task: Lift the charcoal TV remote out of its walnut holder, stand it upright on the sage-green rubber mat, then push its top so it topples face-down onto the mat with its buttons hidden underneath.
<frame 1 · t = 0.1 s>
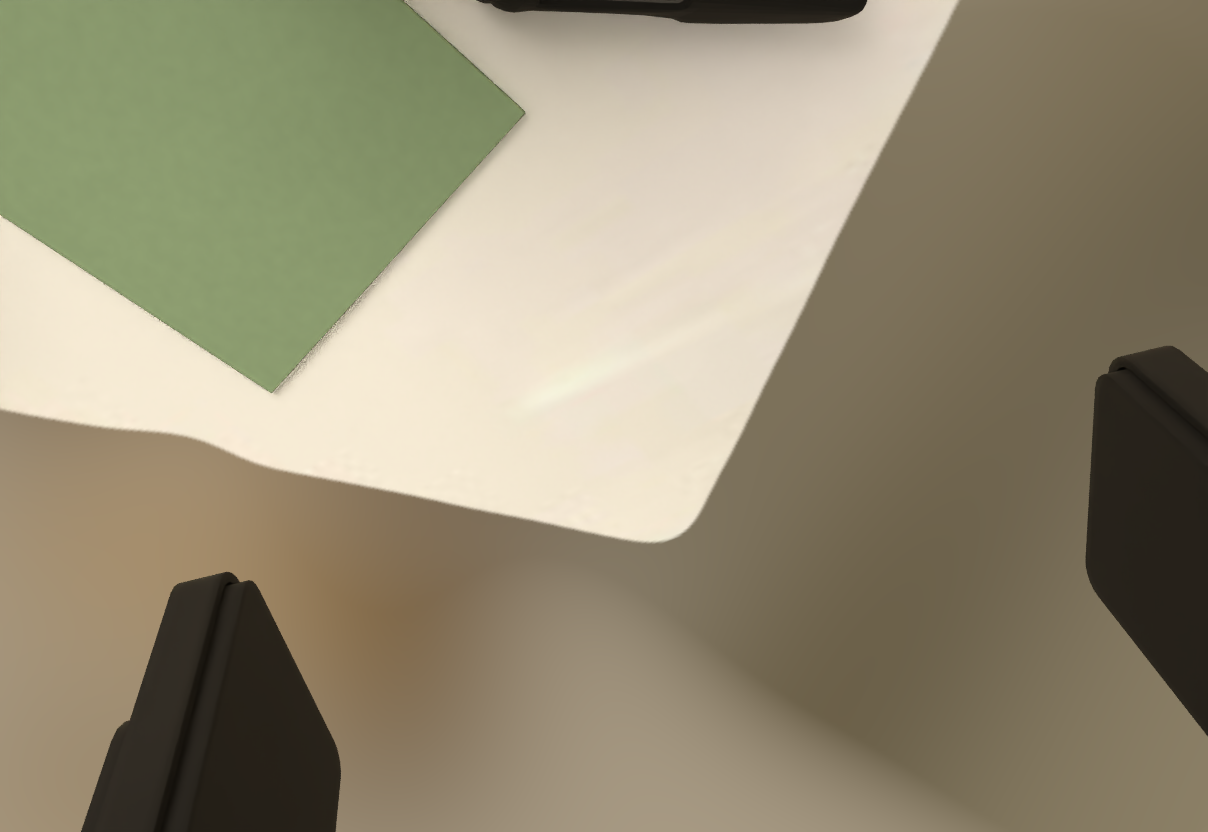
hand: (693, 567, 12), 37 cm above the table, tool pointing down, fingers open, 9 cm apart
mat: (198, 109, 44), on the table
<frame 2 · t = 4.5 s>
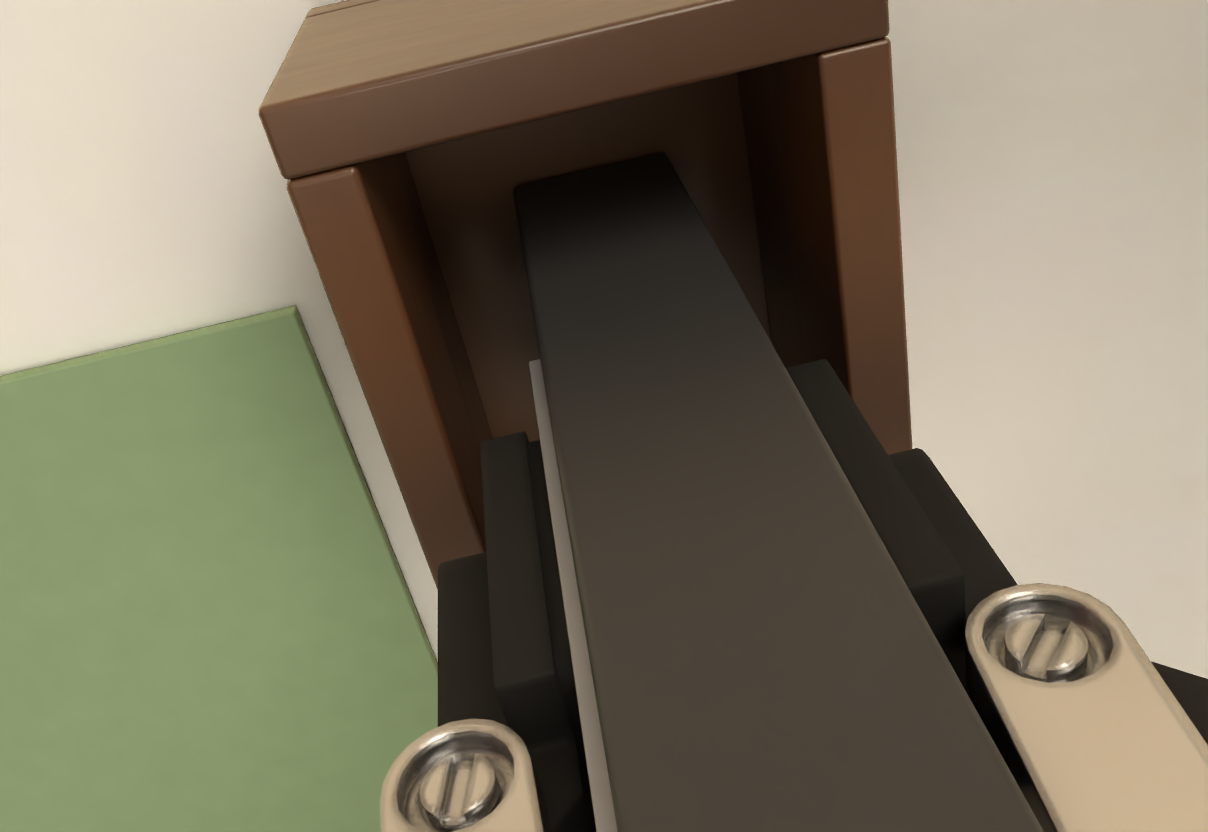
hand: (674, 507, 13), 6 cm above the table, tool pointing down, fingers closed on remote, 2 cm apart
mat: (45, 819, 23), on the table
holder: (607, 287, 18), on the table
remote: (706, 580, 12), point 8 cm above the table, touching gripper, holder
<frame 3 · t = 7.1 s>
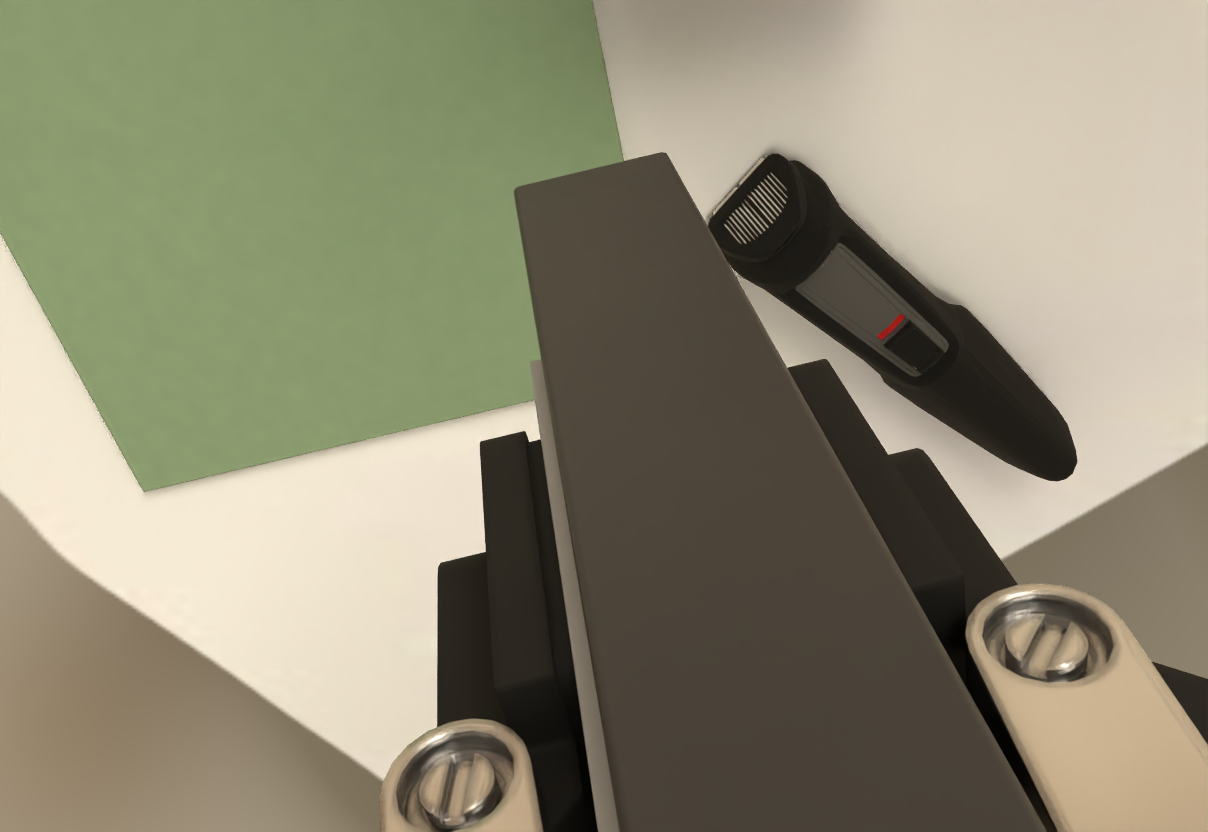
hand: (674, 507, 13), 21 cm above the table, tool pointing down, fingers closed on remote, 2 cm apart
mat: (300, 143, 31), on the table
remote: (708, 581, 12), point 22 cm above the table, touching gripper
electric trimmer: (893, 308, 36), on the table
when the fingers open (6 cm above the table, at t = 9.6 s): remote stays where it is, resting on mat.
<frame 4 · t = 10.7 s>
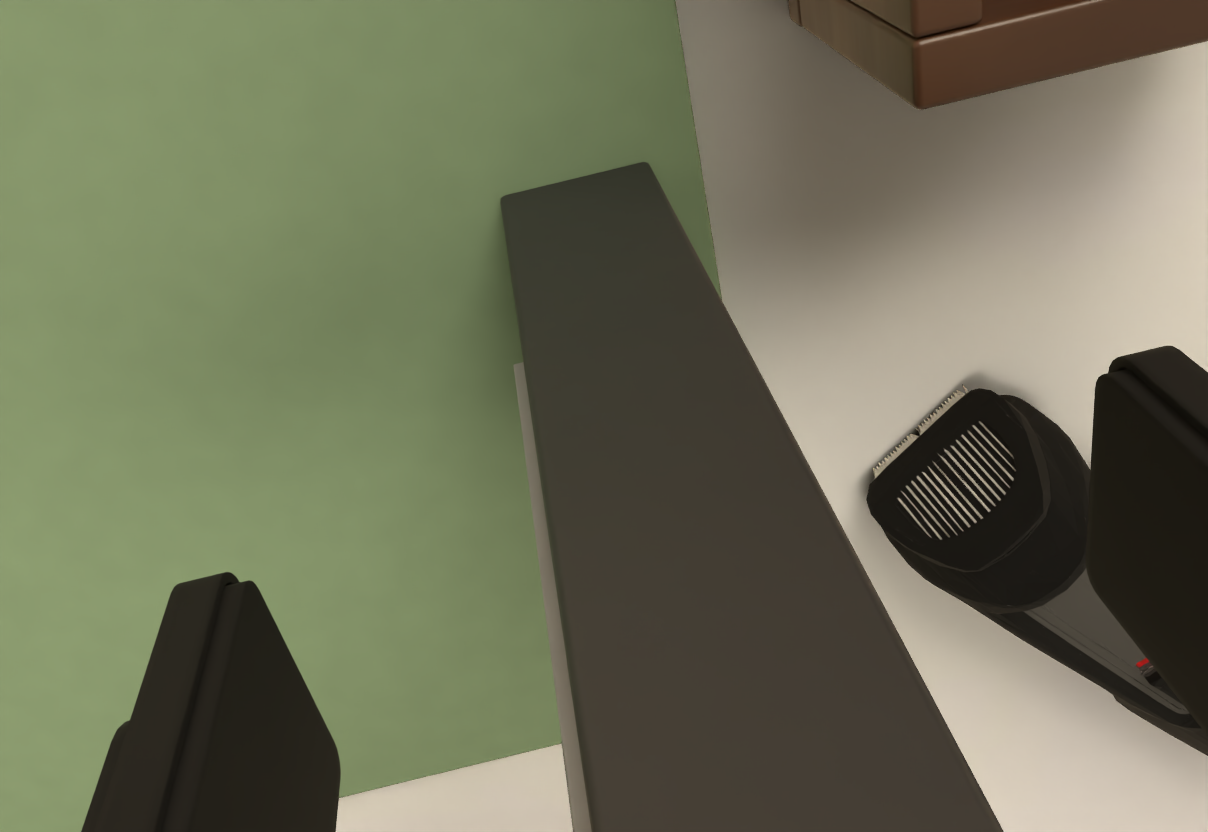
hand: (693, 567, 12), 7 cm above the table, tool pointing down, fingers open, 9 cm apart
mat: (194, 393, 18), on the table
remote: (684, 574, 12), point 7 cm above the table, touching mat
electric trimmer: (1129, 587, 24), on the table
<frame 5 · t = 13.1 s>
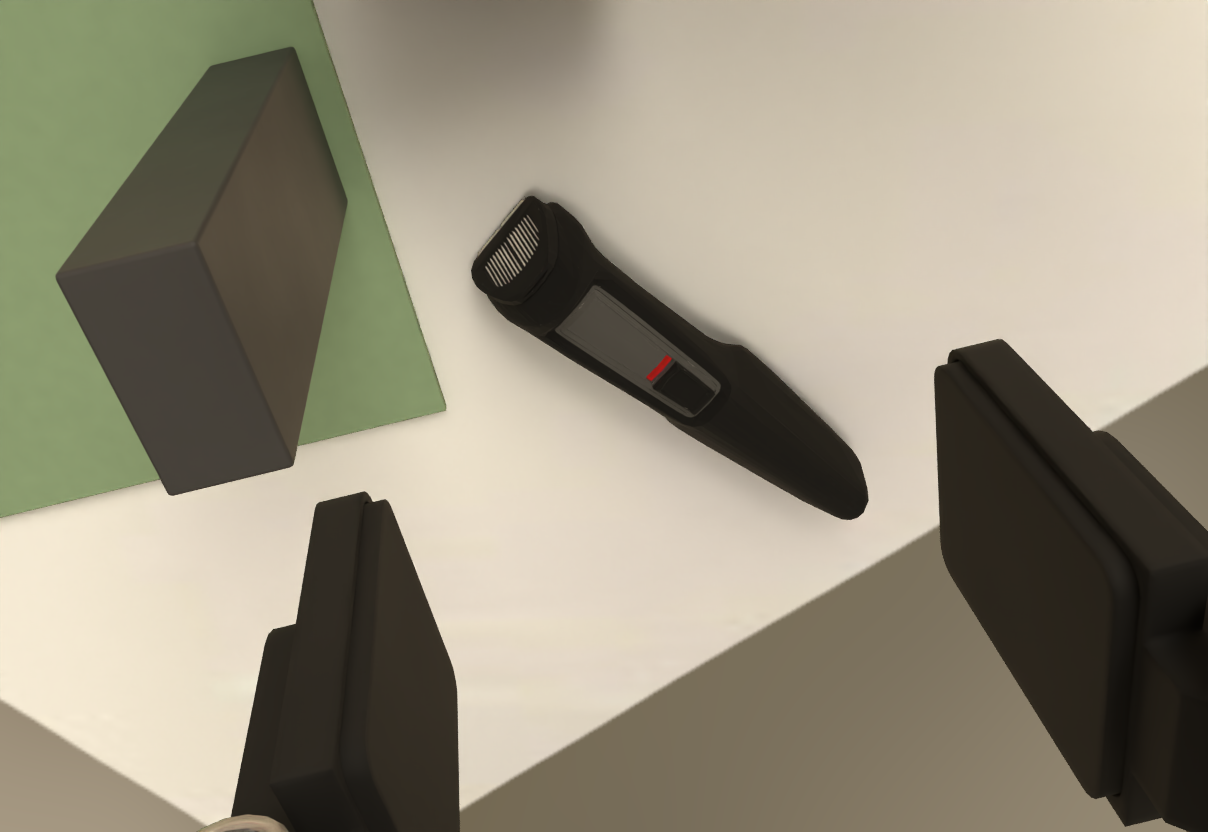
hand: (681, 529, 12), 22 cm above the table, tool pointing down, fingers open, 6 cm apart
mat: (41, 188, 31), on the table
remote: (243, 228, 25), point 7 cm above the table, touching mat
electric trimmer: (678, 347, 36), on the table
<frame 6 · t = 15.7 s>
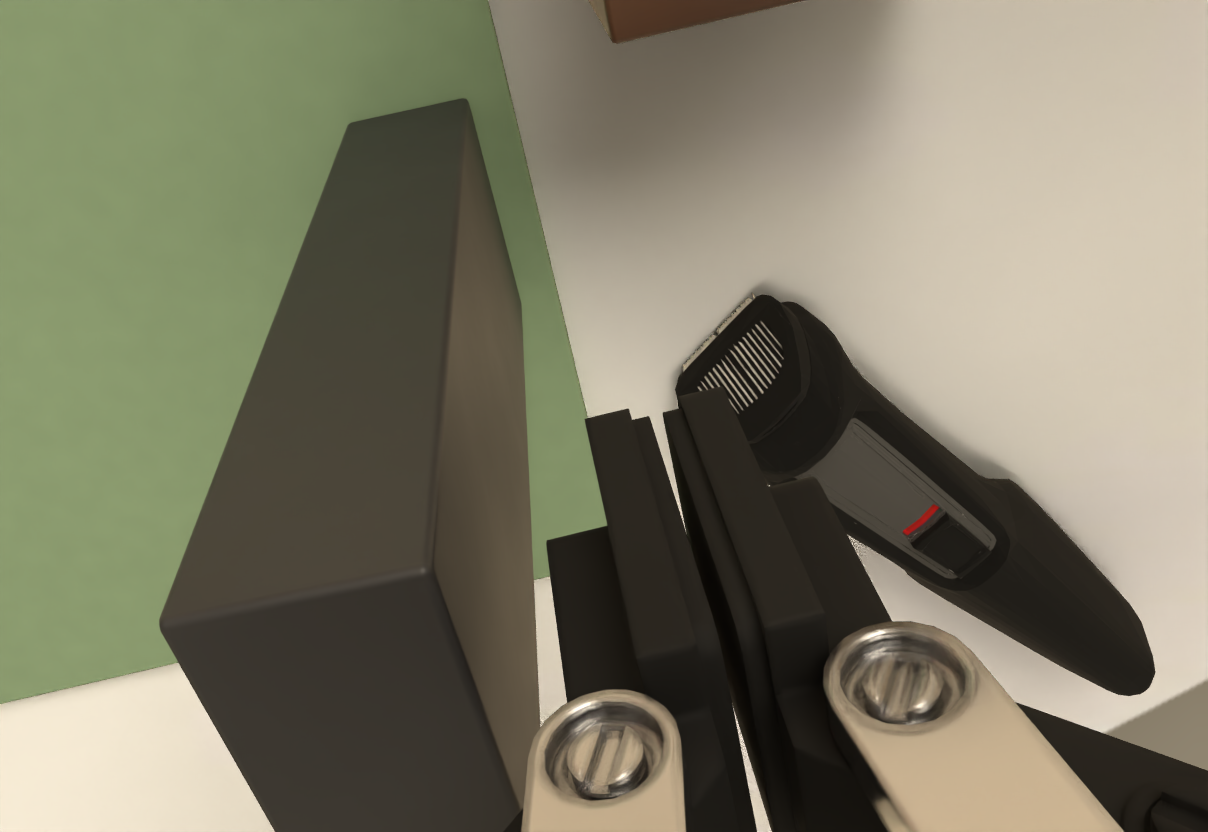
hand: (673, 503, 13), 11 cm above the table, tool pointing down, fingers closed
mat: (107, 285, 22), on the table
remote: (418, 395, 16), point 7 cm above the table, touching gripper, mat
electric trimmer: (920, 478, 28), on the table
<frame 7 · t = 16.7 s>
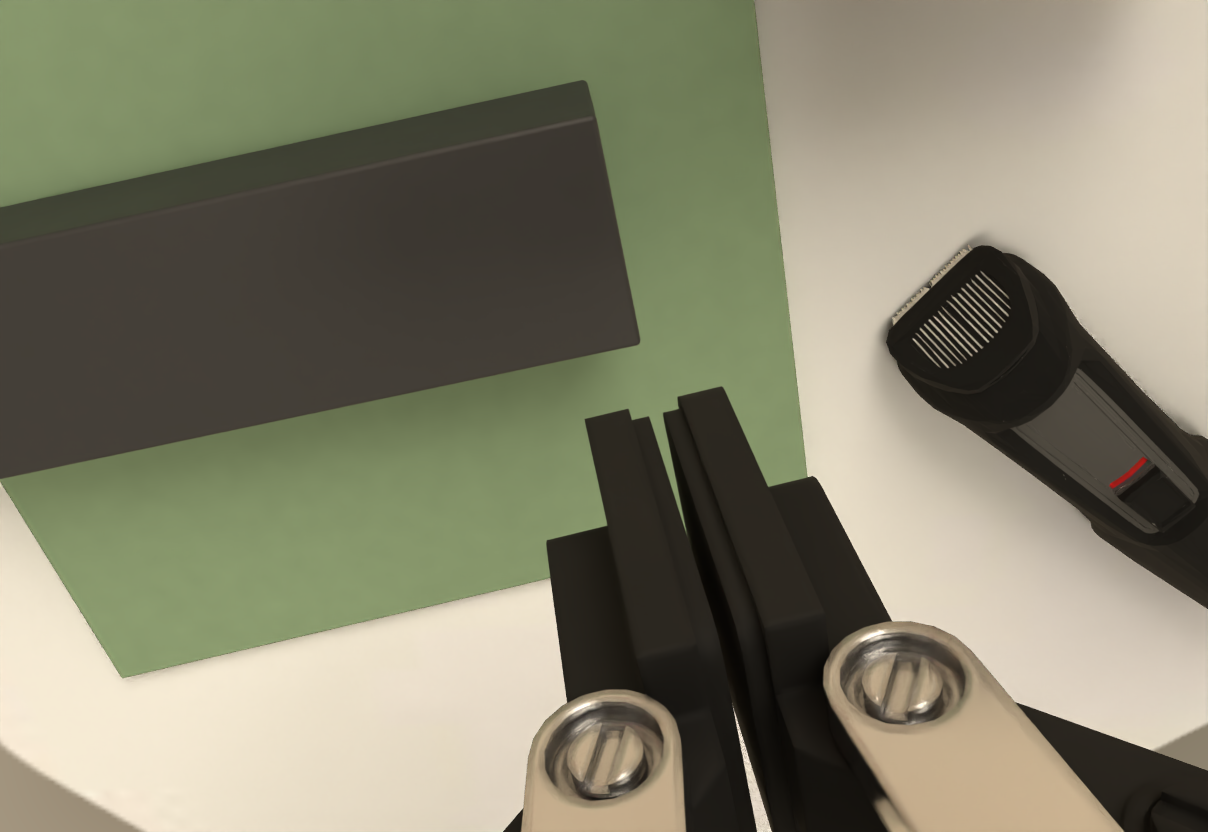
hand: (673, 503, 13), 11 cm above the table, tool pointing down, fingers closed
mat: (342, 234, 22), on the table
remote: (260, 289, 21), point 2 cm above the table, tilted 93°, touching mat
electric trimmer: (1107, 435, 28), on the table
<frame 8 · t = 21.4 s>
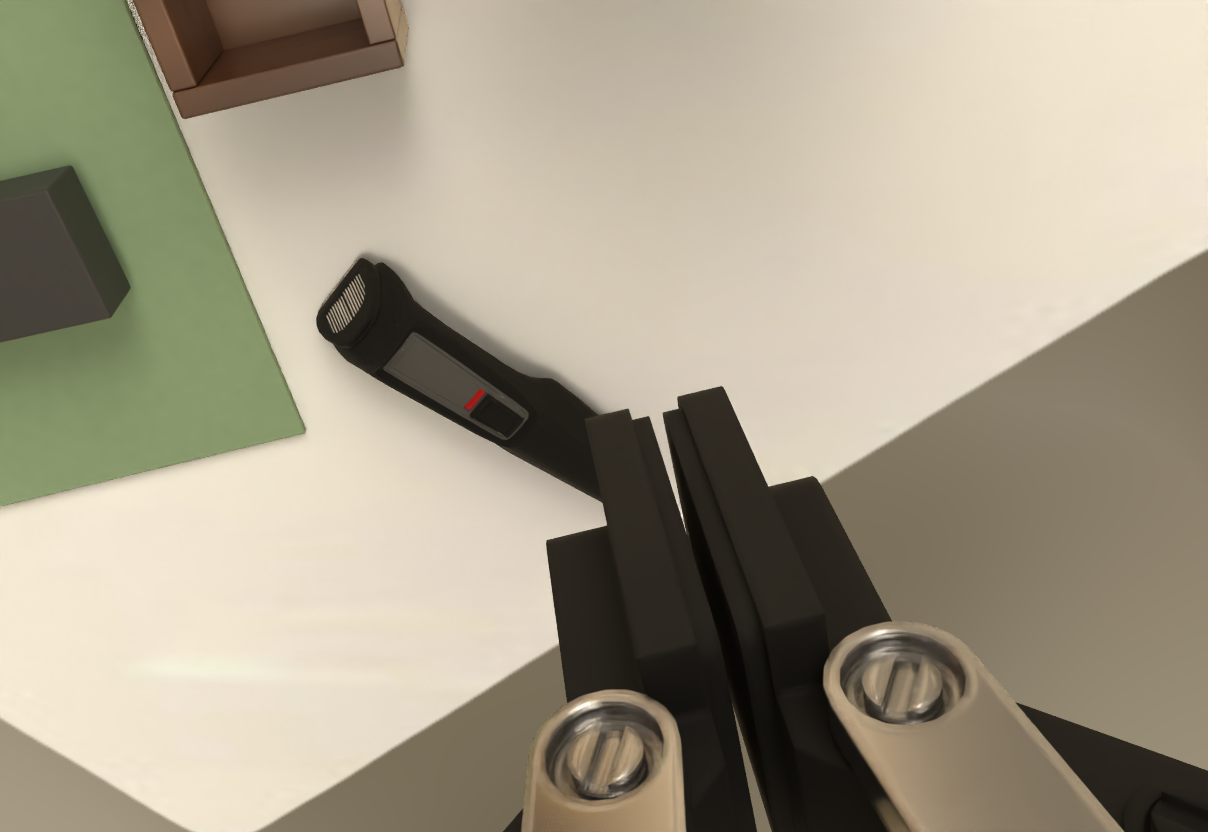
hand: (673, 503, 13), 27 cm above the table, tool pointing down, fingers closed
electric trimmer: (502, 379, 43), on the table
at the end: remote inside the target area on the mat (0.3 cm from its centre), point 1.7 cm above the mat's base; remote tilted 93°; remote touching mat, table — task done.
